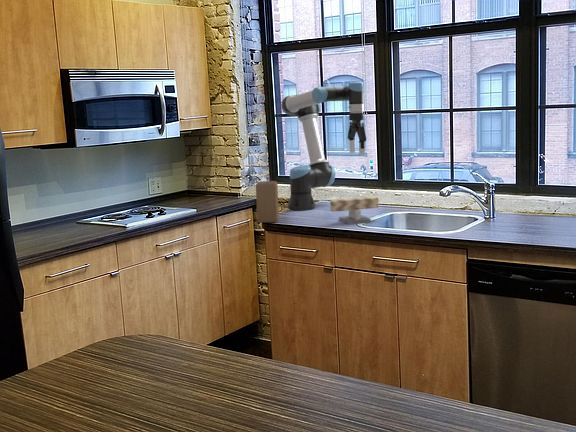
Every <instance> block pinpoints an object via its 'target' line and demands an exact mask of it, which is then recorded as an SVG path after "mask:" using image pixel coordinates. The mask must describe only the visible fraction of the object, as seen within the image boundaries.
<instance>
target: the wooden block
mask: <svg viewBox="0 0 576 432" xmlns="http://www.w3.org/2000/svg"><path fill="white" fill-rule="evenodd" d="M278 187H279V186H278V182H277V181H276V180H269V181H267V180H262V181H258V182H257V183H256V184H255V194H256V195H255V196H256V213H257V214H256V219H257V222H258V223H260V224H265V223H267V224H269V223H270V224H271V223H276V222H278V220H279V218H280V217H279V213H280V212H279V191H278V190H279V189H278Z"/></svg>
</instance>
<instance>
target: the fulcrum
mask: <svg viewBox="0 0 576 432" xmlns="http://www.w3.org/2000/svg"><path fill="white" fill-rule="evenodd" d="M361 211H362V210H361V209H359V210H348V215H346V216H339V221H341V222H343V223H345V224H346V225H352V223H355V224H364V223H371V221H372V220H371V218H369V217H367V216H365V215H363V214H362V213H361Z"/></svg>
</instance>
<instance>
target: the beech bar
mask: <svg viewBox="0 0 576 432" xmlns="http://www.w3.org/2000/svg"><path fill="white" fill-rule="evenodd" d="M329 203H330V205H329V206H330V211H331V212H334V213H335V212H336V213H337V212H345V211H346V212H347V211H348V212H349V210H369V209H370V210H371V209H379V197H377V196H370V197H368V196H367V197H356V198H345V199H332V200H330V202H329Z"/></svg>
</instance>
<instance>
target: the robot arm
mask: <svg viewBox="0 0 576 432" xmlns="http://www.w3.org/2000/svg"><path fill="white" fill-rule="evenodd" d="M364 90H365V89H364V82H362V81H349V82H348V85H339V86H337V85H336V86H317V87H314V88H313V89H312V90H309V91H307V92H302V93H300V94H290V95H286V96H284V97H283V99H282V100H281V103H280V104H281V105H280V106H281V110H282V111H283V113H284V114H286V115H288V116H291V117H296V116H297V118H298V121H299V122H301V125H302V129H303V134H304V139H305V144H306V148H307V152H308V158H309V164H306V165H299V166H298V165H297V166H294V167H292V168H291V169H290V171H289V186H290V187H289V189H290V195H289V199H288V203H287V209H288V210H290V211H310V210H314V209H315V208H316V203H315V200H314V198H313V195H312V189H316V188H326V187H330V186H332V185H333V183H334V182H335V178H336V170H335V168H334V167H333V165H331V164H330V163H329V161H328V160H327V159H326V158H325V157H326V156H325V152H324V148H323V143H322V137H321V133H320V130H319V129H320V128H319V125H318V124H319V123H318V120H317V119H318V118H319V114H320V113H321V112H320V111H321V107H322V105H321V104H322V103H326V102H328V103H329V102H347V101H348V112H349V114H348V120H349V127H348V133H347V140H348V142H349V143H348V144H349V153H350V154H354V153H356V147H355V146H356V144H355V140H356V135H357V136H358V156H365V155H366V153H365V151H366V150H365V149H366V148H365V146H366V145H365V142H367V135H366V129H365V123H364V122H362V121H364V119H365V116H364V115H365V113H364V111H365V105H364V102H365V101H364V97H365V96H364Z"/></svg>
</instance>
